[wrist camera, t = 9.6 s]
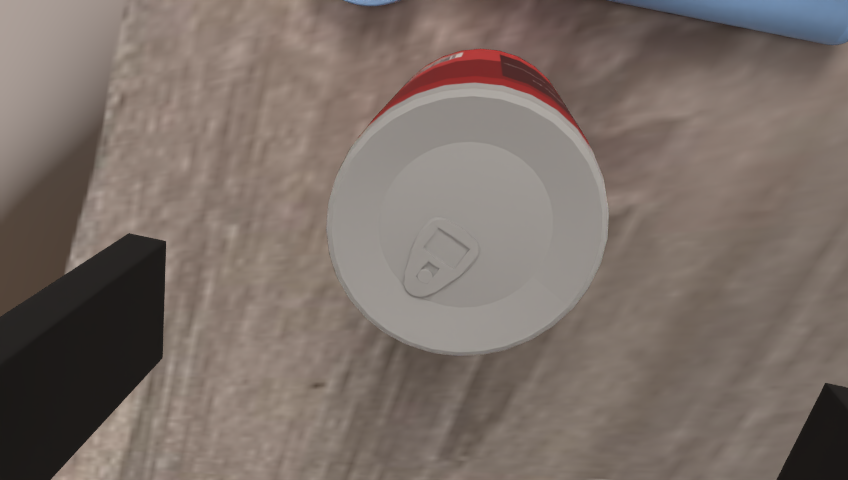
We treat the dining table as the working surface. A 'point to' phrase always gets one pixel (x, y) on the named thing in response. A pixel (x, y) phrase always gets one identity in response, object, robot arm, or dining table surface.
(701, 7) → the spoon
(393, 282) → the canned food
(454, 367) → the dining table surface
